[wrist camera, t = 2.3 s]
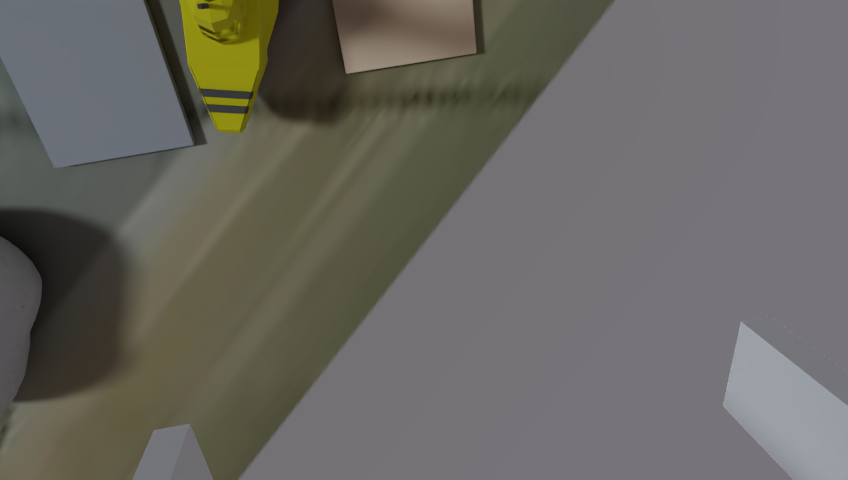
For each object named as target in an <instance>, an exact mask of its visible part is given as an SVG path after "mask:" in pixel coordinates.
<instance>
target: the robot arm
mask: <svg viewBox="0 0 848 480" xmlns="http://www.w3.org/2000/svg"><path fill="white" fill-rule="evenodd" d="M723 407H724V408H725V409H726V410H727V411H728V412H729V413H730V414H731V415H732V416H733V417H734V418H735V419H736V420H737V421H738V422H739V423H740V424H741V425H742V426H743V428H744V429H745V430H746V431H747V432H748V433H749V434H750V435H751V436H752V437H753V438H754V439H755V440H756V441H757V442H758V443H759V444H760V445H761V446H762V447H763V448H764V450H765V451H766V452H767V453H768V454H769V455H770V456H771V457H772V458H773V459H774V460H775V461H776V462H777V463H778V464H779V465H780V466H781V467H782V468H783V469H784V470H785V472H786V473H787V474H788V475H789V476H790V477H791V478H792V479H793V480H848V373H847V372H846V371H845V370H843V369H842V368H840V367H839V366H838V365H836V364H835V363H834V362H832V361H831V360H829V359H828V358H827V357H825V356H824V355H822V354H821V353H819V352H818V351H817V350H816V349H814V348H813V347H811V346H810V345H809V344H807V343H806V342H804V341H803V340H802V339H800V338H799V337H798V336H796V335H795V334H794V333H792V332H790V331H789V330H788V329H787V328H785V327H784V326H783V325H781V324H780V323H778V322H777V321H776V320H774V319H773V318H772V317H770V316H768V317H763V318H757V319H753V320H747V321H741V324H740V329H739V334H738V338H737V343H736V347H735V352H734V356H733V361H732V366H731V370H730V375H729V380H728V384H727V389H726V394H725V399H724V403H723ZM133 480H213V478H212V476H211V473H210V471H209V469H208V466H207V464H206V461H205V459H204V457H203V454H202V452H201V449H200V447H199V444H198V442H197V440H196V437H195V435H194V432H193V430H192V428H191V425H190V424H186V425H180V426H175V427H169V428H164V429H159V430H154V431H153V434H152V436H151V438H150V441H149V443H148V445H147V447H146V450H145V452H144V454H143V457H142V459H141V461H140V464H139V466H138V468H137V471H136V473H135V475H134V478H133Z"/></svg>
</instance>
